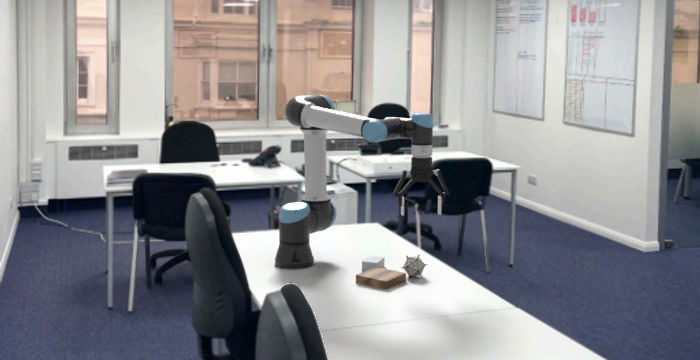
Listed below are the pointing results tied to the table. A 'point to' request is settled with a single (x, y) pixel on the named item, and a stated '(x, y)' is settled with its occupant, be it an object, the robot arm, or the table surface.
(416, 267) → the game die
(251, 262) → the table surface
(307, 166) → the robot arm
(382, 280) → the plinth
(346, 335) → the table surface
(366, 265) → the card box
